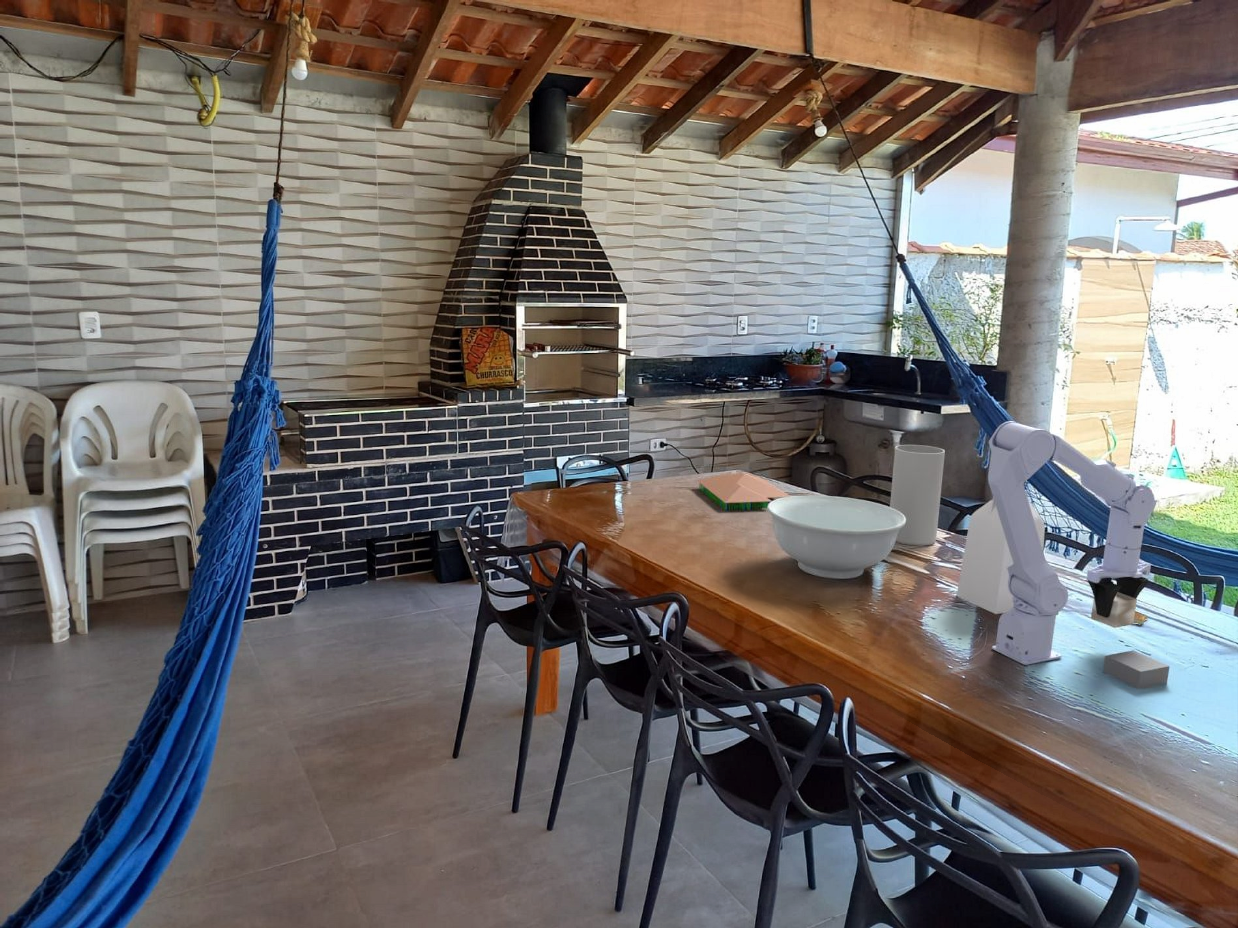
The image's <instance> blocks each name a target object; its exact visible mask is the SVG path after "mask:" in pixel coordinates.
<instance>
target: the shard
mask: <svg viewBox="0 0 1238 928" xmlns="http://www.w3.org/2000/svg"><path fill="white" fill-rule="evenodd" d="M1148 618H1149V616H1148V615H1146V614H1143V613H1142V612H1139V611H1136V610H1135V616H1134V622H1133V623H1138V624H1140V625H1142V624H1144V623H1145V621H1146V620H1145V619H1147V620H1148Z"/></svg>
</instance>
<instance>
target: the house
mask: <svg viewBox="0 0 1238 928" xmlns="http://www.w3.org/2000/svg"><path fill="white" fill-rule="evenodd" d="M696 482H698V483H699V485H698V486H699V490H700V491H702V492H703V493H704V494H705V495H707V497H709V498H710V499H711V500H712V501H714V502H715V503H716V504H717V505H719V507H721V508H723V509H725V511H726V512H727V511H730V509H731V508H730V507H731V504H732V508H733V507H734V508H733V509H734V511H736V508H739V511H741V510H743V511H746V510H745V509H747V511H751V508H752V503H755V504H754V508H755V509H754V510H755V511H756V509H757V506H758V504H761V505H759V507H760V511H761V509H762V508H761V507H763V509H764V508H765V510H767V506H768V504H769V503H770V502H772V501H774V500H775V499H780V498H784V497H792V496H791V495H789V494H787V493H786V492H784V491H783V490H782V489H779V488H778V487H776V486H775V485H774V484H772V483H770V482H769V481H767V480H765V479H764V478H762V477H759V476H756V475H752V474H748V473H745V472H736V473H730V472H729V473H721V474H715V475H711V476H710V477H707V478H706V477H705V478H701V479H696ZM772 499H773V500H772ZM735 504H736V505H735ZM746 504H747V505H746ZM728 508H729V509H728ZM765 510H764V511H765Z"/></svg>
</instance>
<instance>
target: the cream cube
mask: <svg viewBox="0 0 1238 928" xmlns="http://www.w3.org/2000/svg"><path fill="white" fill-rule="evenodd" d="M1137 601H1138V599H1137V598H1136V599H1135V598H1132V597H1130V596H1127V595H1124V594H1121V593H1119V592H1117V594H1116V596H1115V599H1114V601H1113V605H1112V609H1111V613H1110V615H1109V617H1108V618H1105V617H1103V616H1100V615H1098V614H1097V612H1096V605H1095V599H1094V598H1093V601H1092V608H1091V614H1090V619H1092V620H1094V621H1097V622H1099V623H1101V624H1104V625H1107V626H1109V627H1112V628H1114V629H1116V628H1121V627H1126V626H1132V625H1134V624H1133V622H1134V616H1135V611H1136V608H1137Z"/></svg>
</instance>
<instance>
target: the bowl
mask: <svg viewBox="0 0 1238 928" xmlns="http://www.w3.org/2000/svg"><path fill="white" fill-rule="evenodd" d="M771 501H772V502H768V503H767V504H768V506H767V509H766V510H767V512H768V514H769V515H771V517H772V525H773V533H774V536H775V540H776V542H777V544H778V545H779V546H780V548H781V549H782V550H783V552H784V553H786V554H787V555H789V556H790V557H791V558H792V559H794V560H796V561H798V562H797V565H798V567H799V569H800V570H801V571H803V572H805V573H807V574H810V575H812V576H815V577H821V578H825V579H834V580H835V579H838V580H839V579H840V580H841V579H843V580H845V579H848V580H849V579H853V578H857V577H860V576H861V575H863V573H864V571H865V569H867V568H870V567H872V566H875V565H877V564H879V563H881V561H883V560H884V559H885V558H886V557H888V555H889V554H890V553H891V552H892V550H893V548H894V546H895V544H896V542H895V541H896V538H897V535H898V532H899V530H900V529H901V528H902V527H903V526H904V525H905V523H906V518H905V516H904V515H903V514H902V513H901V512H899V511H897V510H895V509H893V508H891V507H890V506H888V505H885V504H881V503H878V502H873V501H869V500H865V499H858V498H851V497H843V496H834V495H833V496H831V495H793V496H791V497H784V498H780V499H778V498H775V499H774V501H773V500H771Z"/></svg>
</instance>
